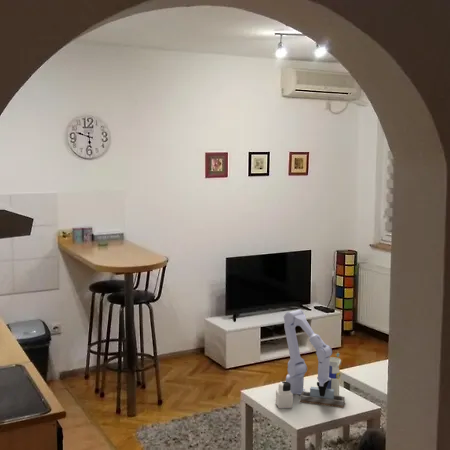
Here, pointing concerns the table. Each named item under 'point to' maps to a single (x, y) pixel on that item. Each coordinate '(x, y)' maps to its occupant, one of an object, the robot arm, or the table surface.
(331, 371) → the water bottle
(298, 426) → the table surface
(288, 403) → the medicine bottle
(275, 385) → the table surface
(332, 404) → the track board
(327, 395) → the grey-blue rectangular block
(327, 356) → the robot arm
